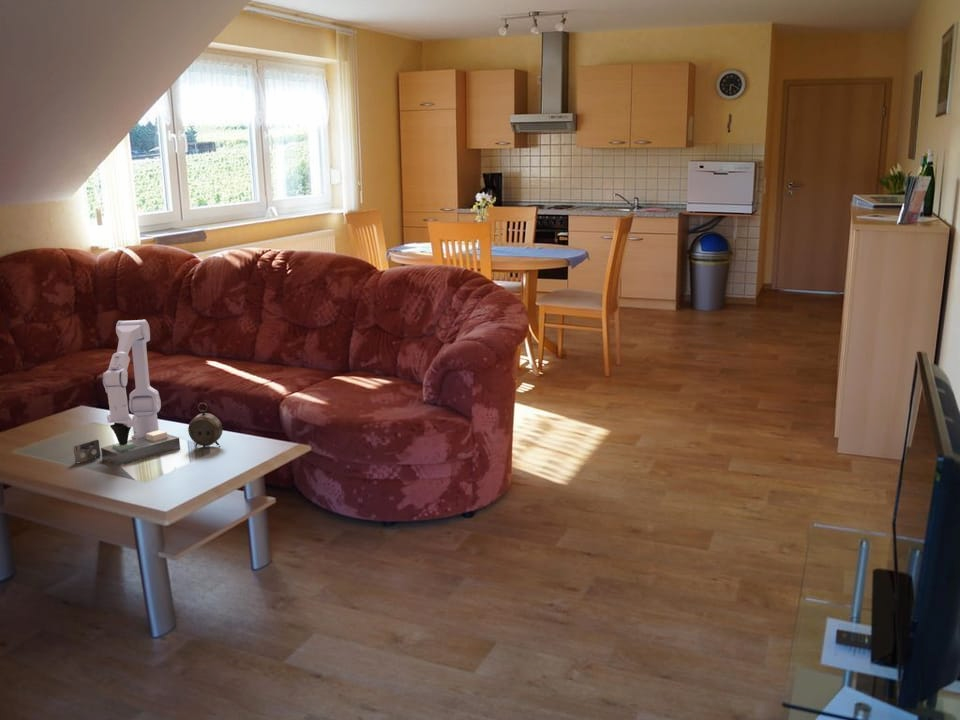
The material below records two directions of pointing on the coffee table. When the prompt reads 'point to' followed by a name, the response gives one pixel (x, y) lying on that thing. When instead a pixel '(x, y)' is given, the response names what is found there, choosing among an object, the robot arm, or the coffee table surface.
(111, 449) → the key housing
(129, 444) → the teal key
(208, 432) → the alarm clock
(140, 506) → the coffee table surface
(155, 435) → the white key
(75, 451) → the mini dv tape
